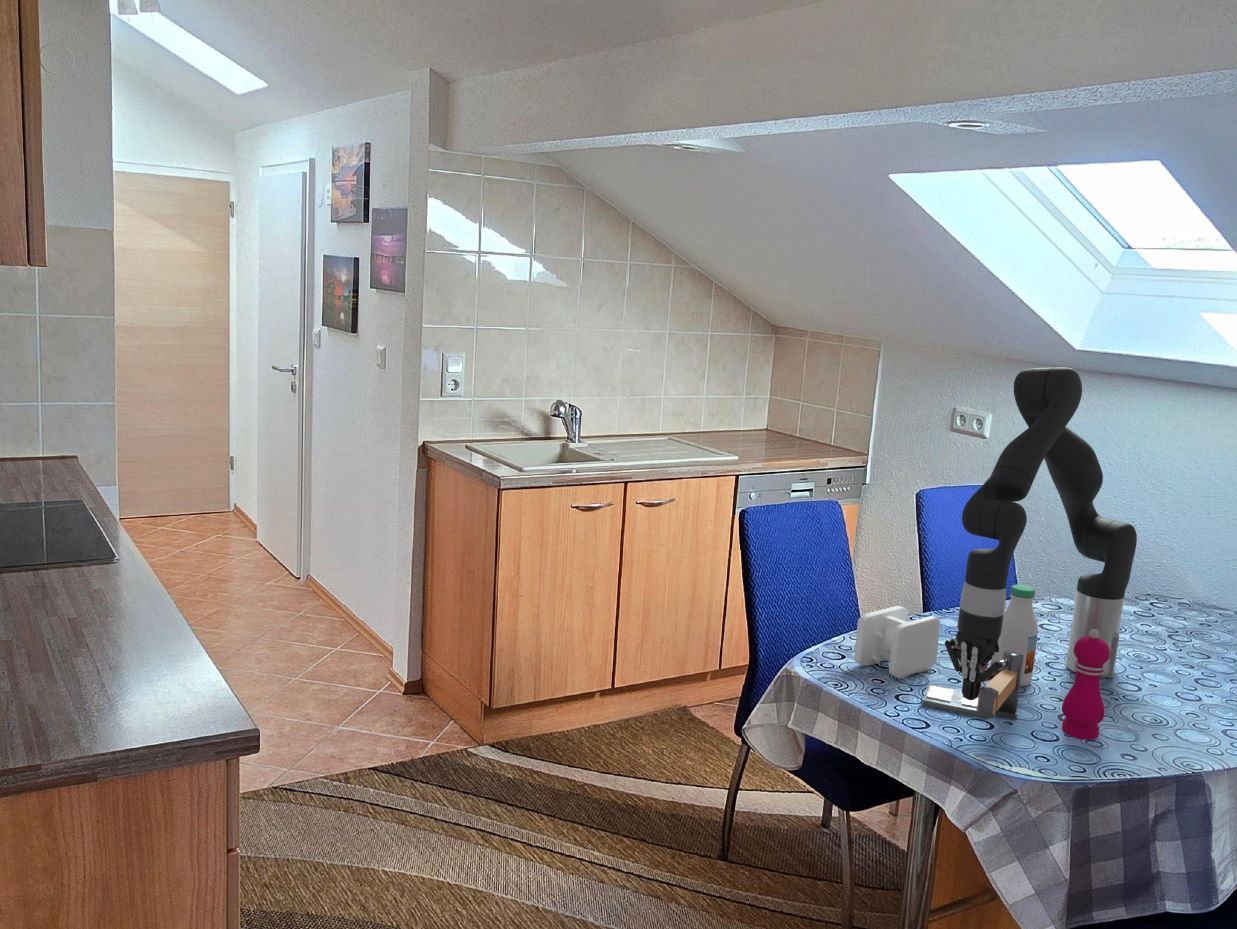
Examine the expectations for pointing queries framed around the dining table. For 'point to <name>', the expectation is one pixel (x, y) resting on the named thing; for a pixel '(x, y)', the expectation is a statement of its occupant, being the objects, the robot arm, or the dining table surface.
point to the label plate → (949, 700)
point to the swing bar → (995, 693)
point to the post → (1010, 704)
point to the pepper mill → (1086, 689)
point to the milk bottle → (1020, 629)
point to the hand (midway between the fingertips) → (969, 698)
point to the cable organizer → (897, 641)
